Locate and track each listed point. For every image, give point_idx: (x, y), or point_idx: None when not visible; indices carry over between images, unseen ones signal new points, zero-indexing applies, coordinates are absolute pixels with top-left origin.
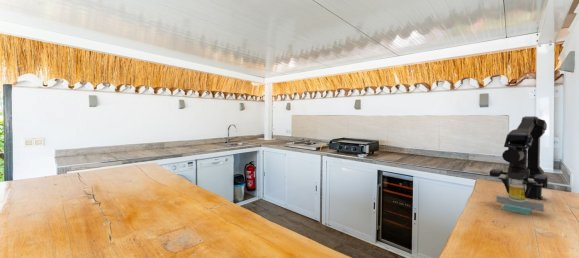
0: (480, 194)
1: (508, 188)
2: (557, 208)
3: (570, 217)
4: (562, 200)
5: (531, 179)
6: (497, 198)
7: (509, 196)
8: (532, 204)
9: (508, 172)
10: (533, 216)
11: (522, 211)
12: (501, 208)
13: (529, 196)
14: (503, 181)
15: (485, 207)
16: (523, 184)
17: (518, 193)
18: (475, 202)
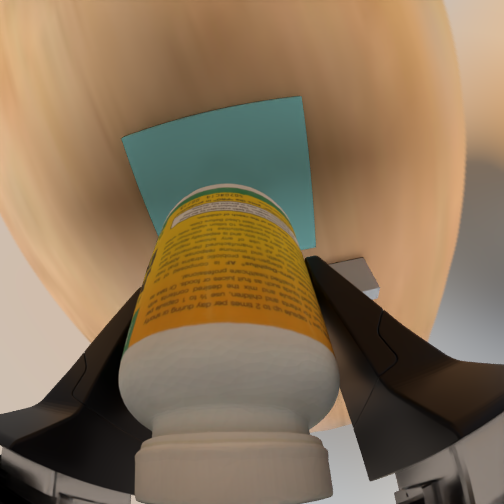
0: (426, 305)
1: (326, 302)
2: None
3: (59, 297)
4: None
5: (39, 498)
6: (367, 275)
7: (283, 218)
8: None
9: None
10: (101, 143)
11: (173, 165)
12: (298, 97)
13: None
14: (443, 367)
15: (386, 52)
16: (149, 428)
17: (174, 249)
18: (450, 129)
